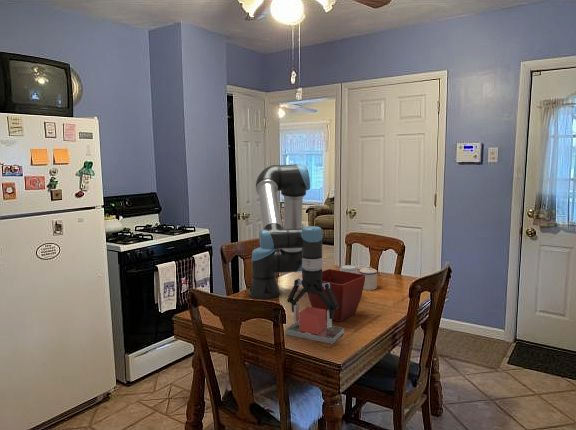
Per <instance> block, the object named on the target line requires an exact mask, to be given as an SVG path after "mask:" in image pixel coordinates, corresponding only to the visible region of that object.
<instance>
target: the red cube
mask: <svg viewBox="0 0 576 430" xmlns="http://www.w3.org/2000/svg"><path fill="white" fill-rule="evenodd" d="M326 325H327V318H326V310H325V309H319V308H313V307H312V306H307V307H305V308H304V309H302V310H301V311H299V331H303V332H308V333H313V334H317V335H318V334H319V333H320V332H321V331H322V330H323V329H325V328H326Z"/></svg>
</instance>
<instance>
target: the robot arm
mask: <svg viewBox="0 0 576 430" xmlns="http://www.w3.org/2000/svg"><path fill="white" fill-rule="evenodd" d="M310 177H311V176H310V172H309V169H308V167H307V165H304V164H272V165H270V166H267V167H266V168H264V169H263V170H262V171H261V172H260V173H259V175H258V176H257V179H256V181H255V191H256V194H257V195H258V196H259V204H260V213H261V220H262V230H259V233H258V234H259V237H258V238H259V239H258V241H259V247H257V248H255V249H253V250H252V251H251V275H252V276H251V279H252V280H251V283H250V286H249V289H248V295H249V297H250V298H254V299H261V300H263V299H264V300H265V299H267V300H268V299H272V298H276V297H278V296H280V294H281V292H280V291H281V290H280V286H279V284H278V279H277V274H279V273H280V274H282V273H283V274H284V273H299V272H301V278H297V279H295V280H294V283H293V287H292V289H291V291H290V293H289V295H288V298H287V300H286V302H287V303H290V304H291V312H292V313H293V322H294V323H296V322H297V321H298V320H299V312H300V305H299V304H300V303H299V300H300V299H301V298H302V297H303V296H304V295H305V294H306V293H307V294H308V293H312V294H317V295H318V296H319V297H320V298H321V299H322V301H323V302H324V304H325V305H326V306H327V308H328V310H327V318H326V325H327V328H330V327H331V326H332V325H333V320H332V319H333V318H334V310H336V309H338V308H339V305H338V303H337V301H336V298H335V296H334V294H333V292H332V289H331V284H330V283H329V282H328V283H323V282H322V271H323V229H322V228H321V227H320V226H316V225H315V226H314V225H313V226H312V225H310V226H309V225H308V226H302V223H303V222H302V221H303V220H302V219H303V198H304V197H305V196H306V195H307V191H309V190H311V178H310ZM278 191H279V192H280V195H282V196H283V224H282V218H281V213H280V207H279V201H278V195H277V192H278ZM300 286H302V287H303V288H302V289H301V290H300V291H299V293H298V294H297V295H296V293H297V292H298V289H299V288H300ZM322 287H324V289H325V290H326V293H327V295H328V297H329V299H328V297H327V296H326V295H325V293H324V291H323V289H322ZM319 291H320V292H319ZM295 296H296V297H295Z"/></svg>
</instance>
